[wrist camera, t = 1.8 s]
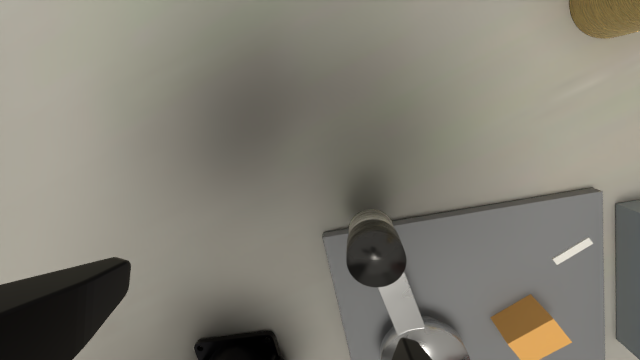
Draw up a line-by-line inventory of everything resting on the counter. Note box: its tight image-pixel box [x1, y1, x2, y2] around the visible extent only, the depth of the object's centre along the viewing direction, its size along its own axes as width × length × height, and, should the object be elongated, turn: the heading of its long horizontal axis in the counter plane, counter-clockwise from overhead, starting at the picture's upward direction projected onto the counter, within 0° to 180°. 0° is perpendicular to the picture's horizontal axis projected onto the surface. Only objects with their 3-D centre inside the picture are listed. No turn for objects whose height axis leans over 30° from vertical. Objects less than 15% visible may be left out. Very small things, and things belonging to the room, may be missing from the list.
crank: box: [346, 209, 470, 360], centre depth 18 cm, size 14×6×5 cm, turn 22°
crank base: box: [323, 188, 605, 360], centre depth 21 cm, size 17×16×3 cm
